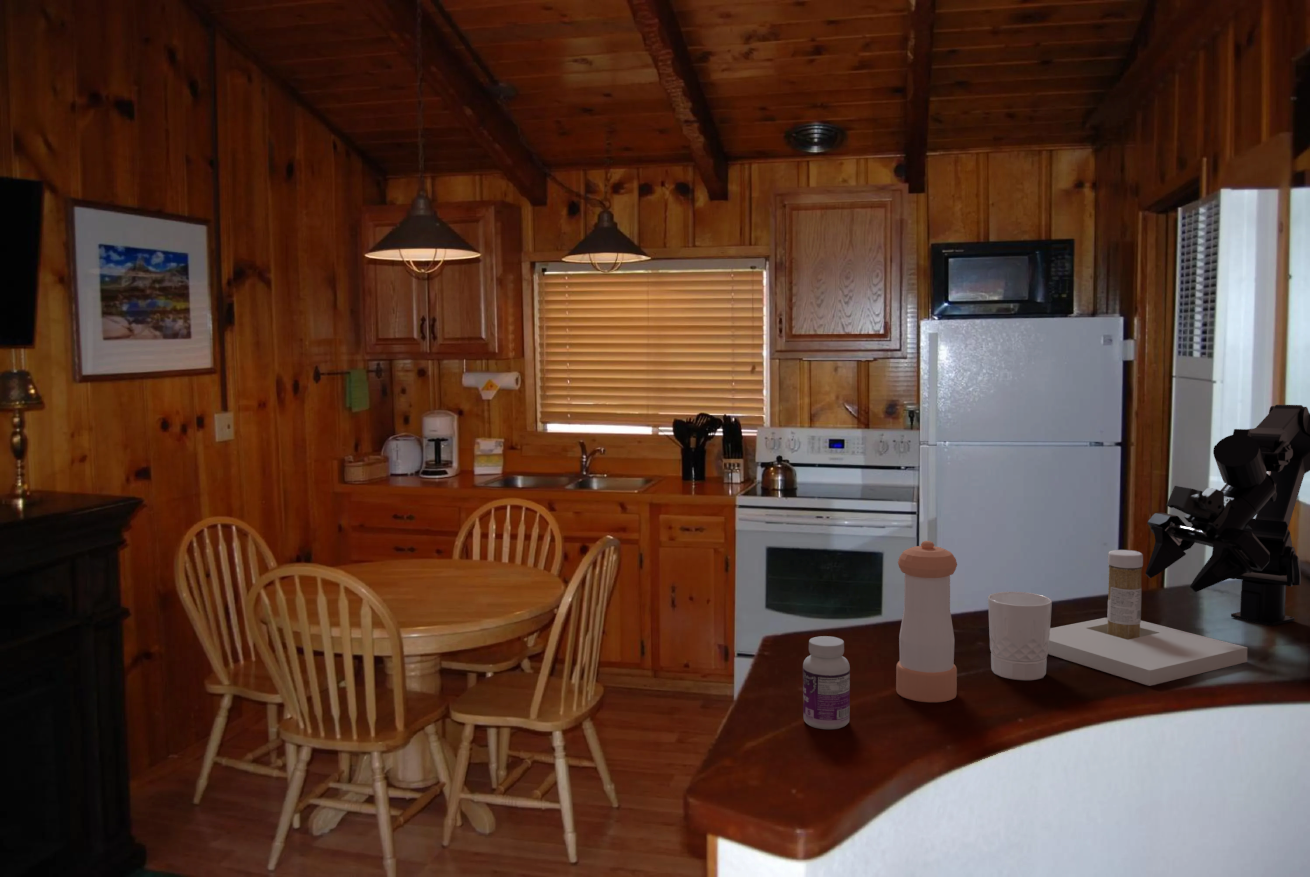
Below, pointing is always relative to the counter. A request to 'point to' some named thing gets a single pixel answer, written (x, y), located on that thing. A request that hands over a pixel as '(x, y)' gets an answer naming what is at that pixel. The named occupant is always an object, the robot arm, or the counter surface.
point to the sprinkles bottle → (1124, 593)
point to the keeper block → (1143, 651)
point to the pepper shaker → (927, 626)
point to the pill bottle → (826, 684)
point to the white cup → (1019, 634)
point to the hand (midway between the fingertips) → (1169, 582)
